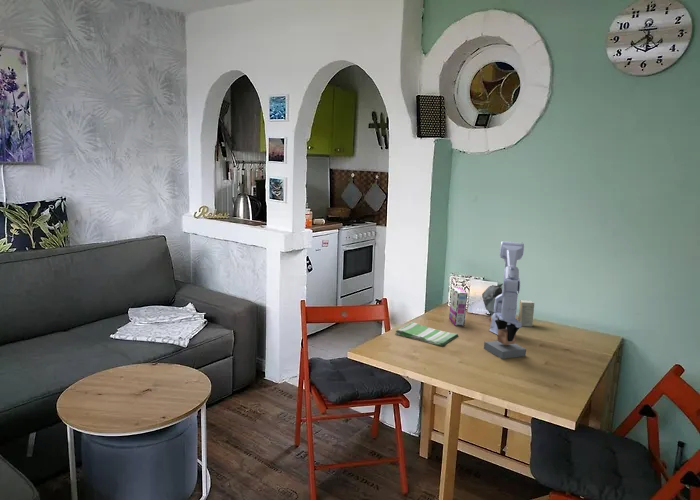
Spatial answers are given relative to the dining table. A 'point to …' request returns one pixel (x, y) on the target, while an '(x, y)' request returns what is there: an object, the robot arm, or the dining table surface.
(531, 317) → the skincare box
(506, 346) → the slate block
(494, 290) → the gray rock
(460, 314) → the candy bar box
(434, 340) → the dish towel
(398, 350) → the dining table surface
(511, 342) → the terracotta cube
